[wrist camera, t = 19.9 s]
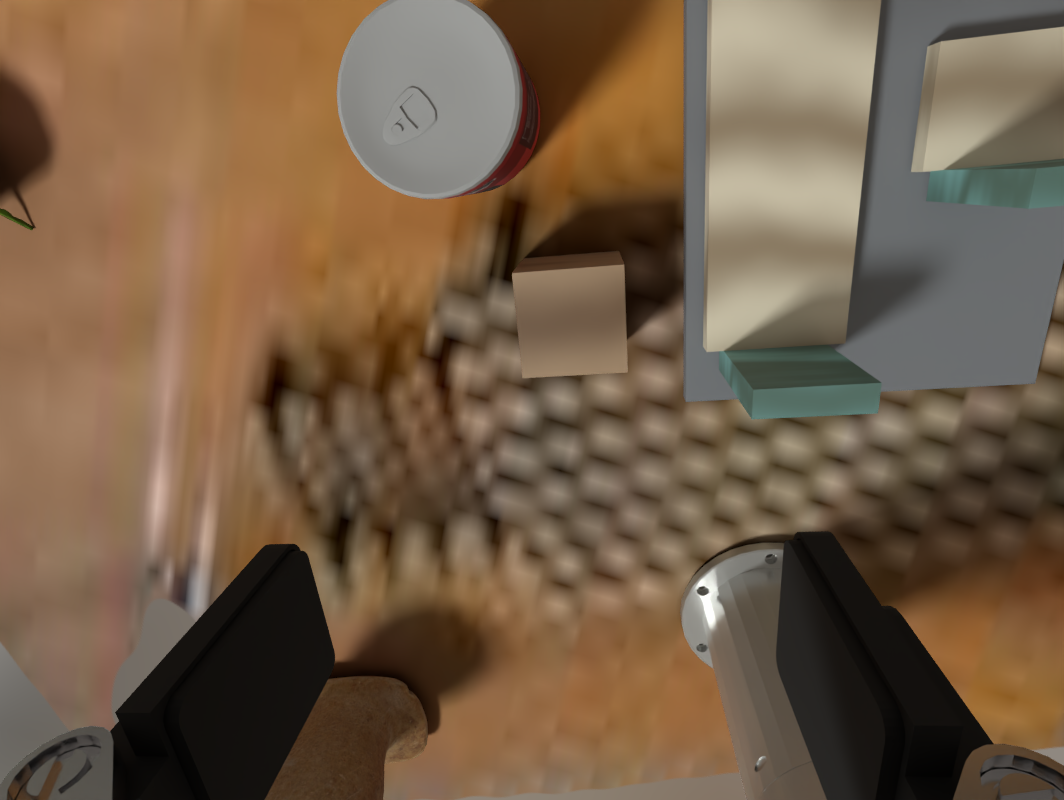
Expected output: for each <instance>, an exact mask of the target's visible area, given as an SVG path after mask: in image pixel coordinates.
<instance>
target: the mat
mask: <svg viewBox="0 0 1064 800" xmlns="http://www.w3.org/2000/svg"><path fill="white" fill-rule="evenodd" d="M707 5H708V0H684V398H685V401H686V402H691V401H710V400H729V399H738V398H737V396H736V395H735V393H734V392H733V390H732V389H731V387H730V386H729V384H728V383H727V381H726V380H725V378H724V377H723V375H722V374H721V372H720V371H719V351H715V352H706V350H705V349H704V347H703V314H704V237H705V160H706V82H707ZM1057 27H1064V0H881V7H880V17H879V26H878V36H877V45H876V55H875V64H874V74H873V84H872V93H871V103H870V112H869V122H868V131H867V141H866V150H865V160H864V170H863V179H862V189H861V198H860V208H859V217H858V227H857V237H856V246H855V256H854V265H853V275H852V284H851V294H850V303H849V313H848V323H847V332H846V342H845V343H844V344H828V345H829V346H830V347H832V348H833V349H835V350H836V351H837V352H839V353H840V354H842V355H843V356H845V357H846V358H847V359H849V360H850V361H852V362H853V363H854V364H856V365H857V366H859V367H860V368H862V369H863V370H864V371H866V372H867V373H869V374H870V375H871V376H873V377H874V378H876V379H877V380H879V381H880V382H881V383H882V385H881V392H882V391H901V390H920V389H939V388H958V387H978V386H997V385H1016V384H1035V381H1036V377H1037V373H1038V368H1039V364H1040V360H1041V356H1042V351H1043V347H1044V343H1045V338H1046V334H1047V330H1048V325H1049V321H1050V317H1051V313H1052V308H1053V304H1054V300H1055V295H1056V291H1057V287H1058V282H1059V278H1060V274H1061V270H1062V265H1063V261H1064V206H1054V207H1042V208H1031V209H1026V208H1012V207H999V206H985V205H972V204H958V203H945V202H931V201H926V198H927V191H928V184H929V177H930V171H928V172H911V168H912V160H913V153H914V145H915V137H916V130H917V122H918V115H919V107H920V100H921V92H922V85H923V77H924V69H925V62H926V54H927V47H928V46H930V45H933V44H936V43H938V42H941V41H949V40H957V39H965V38H974V37H982V36H990V35H999V34H1007V33H1015V32H1024V31H1032V30H1040V29H1048V28H1057Z"/></svg>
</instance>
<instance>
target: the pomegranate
mask: <svg viewBox="0 0 1064 800" xmlns="http://www.w3.org/2000/svg"><path fill="white" fill-rule="evenodd" d="M0 215H2V216H4V217H6V218H8V219H10V220H12V221H14V222H16V223H18V224H20V225H22V226H24V227H26V228H28V229H30V230H33V228H34V227H32V226H31V225H29V224H27V223H26V222H24V221H23V220H21V219H18V218H16V217H13V216H12V215H11V214H10V213H9V212H8V211H6V210H4V209H0Z"/></svg>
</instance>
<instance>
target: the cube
mask: <svg viewBox="0 0 1064 800" xmlns="http://www.w3.org/2000/svg"><path fill="white" fill-rule="evenodd" d="M512 278H513V288H514V298H515V308H516V318H517V327H518V337H519V347H520V357H521V367H522V377H523V378H532V377H550V376H568V375H587V374H605V373H623V372H628V366H627V335H626V303H625V272H624V263H623V260H622V257H621V255H620V252H619V251H610V252H597V253H585V254H572V255H560V256H547V257H535V258H524V259H523V260H522V261H521V263H520V264H519V265H518V266H517V268H516V269H515V270H514V271H513V273H512Z"/></svg>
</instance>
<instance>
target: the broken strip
mask: <svg viewBox="0 0 1064 800" xmlns="http://www.w3.org/2000/svg"><path fill="white" fill-rule="evenodd" d="M928 171H930V177H929V184H928V191H927V198H926V201H931V202H945V203H958V204H972V205H985V206H999V207H1012V208H1026V209H1031V208H1042V207H1054V206H1064V27H1057V28H1048V29H1040V30H1032V31H1024V32H1015V33H1007V34H999V35H990V36H982V37H974V38H965V39H957V40H949V41H941V42H938V43H936V44H933V45H930V46H928V47H927V54H926V62H925V69H924V77H923V85H922V92H921V100H920V107H919V115H918V122H917V130H916V137H915V145H914V153H913V160H912V168H911V172H928Z"/></svg>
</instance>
